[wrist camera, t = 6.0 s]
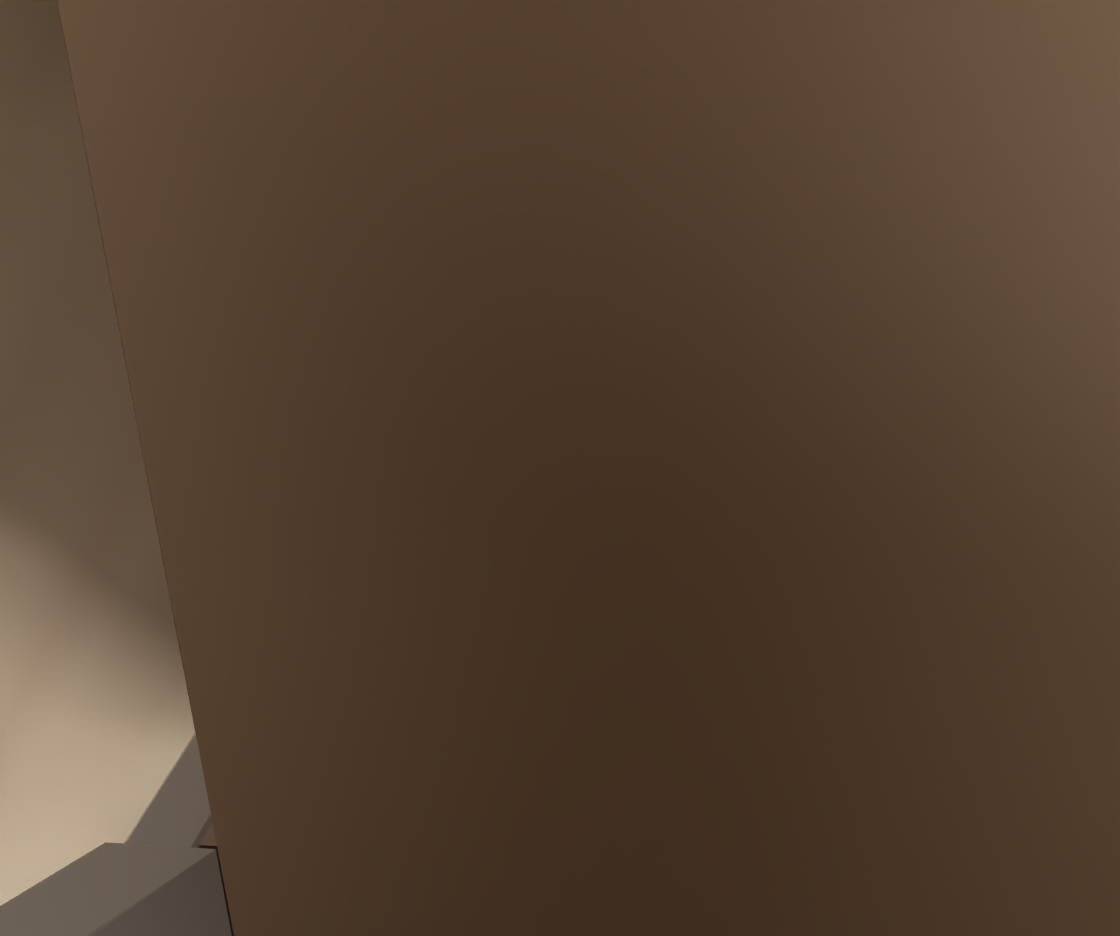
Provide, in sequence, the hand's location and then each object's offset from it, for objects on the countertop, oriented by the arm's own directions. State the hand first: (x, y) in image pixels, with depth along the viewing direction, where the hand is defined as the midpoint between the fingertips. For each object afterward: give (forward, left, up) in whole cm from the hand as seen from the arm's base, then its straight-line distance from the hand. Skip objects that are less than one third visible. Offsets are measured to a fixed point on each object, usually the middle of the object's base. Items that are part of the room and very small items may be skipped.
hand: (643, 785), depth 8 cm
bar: (0, -8, -2) cm, 8 cm away
